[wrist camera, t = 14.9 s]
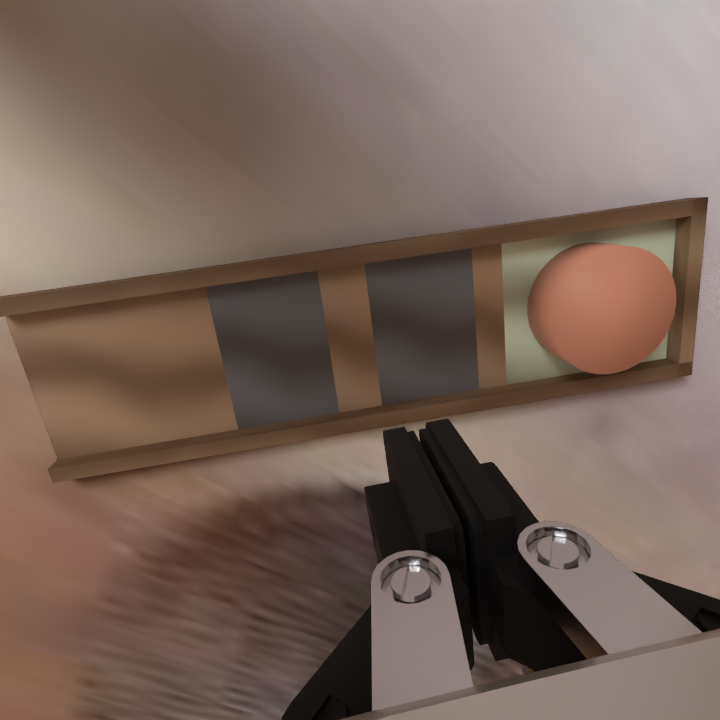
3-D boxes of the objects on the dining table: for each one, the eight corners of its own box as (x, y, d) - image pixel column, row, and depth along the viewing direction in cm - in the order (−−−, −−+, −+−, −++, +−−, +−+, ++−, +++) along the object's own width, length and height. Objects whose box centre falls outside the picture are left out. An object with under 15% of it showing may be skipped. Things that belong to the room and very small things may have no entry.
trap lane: (-1, 296, 29) (-17, 301, 27) (689, 197, 32) (708, 197, 30) (63, 470, 32) (52, 482, 31) (675, 368, 35) (691, 374, 34)
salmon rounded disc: (519, 260, 31) (545, 266, 28) (634, 228, 32) (673, 230, 28) (535, 371, 34) (560, 388, 31) (641, 340, 34) (678, 355, 31)
